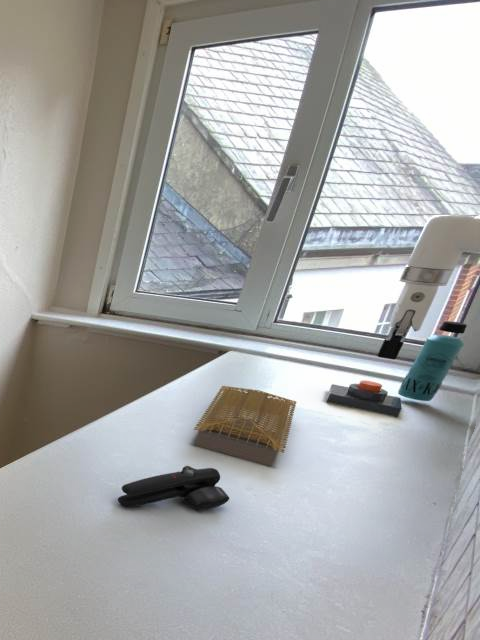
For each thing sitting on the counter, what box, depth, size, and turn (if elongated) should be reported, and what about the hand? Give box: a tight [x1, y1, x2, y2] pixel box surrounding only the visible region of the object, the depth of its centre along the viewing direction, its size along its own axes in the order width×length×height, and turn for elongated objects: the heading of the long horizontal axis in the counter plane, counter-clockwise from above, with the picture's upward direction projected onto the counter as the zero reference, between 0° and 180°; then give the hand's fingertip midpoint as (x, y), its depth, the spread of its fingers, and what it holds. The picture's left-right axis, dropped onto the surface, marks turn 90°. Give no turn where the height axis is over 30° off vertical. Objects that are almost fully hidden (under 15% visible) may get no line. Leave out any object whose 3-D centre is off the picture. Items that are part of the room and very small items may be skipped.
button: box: [358, 380, 383, 392], centre depth 131 cm, size 4×4×2 cm
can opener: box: [117, 465, 230, 511], centre depth 86 cm, size 18×7×6 cm, turn 100°
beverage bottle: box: [397, 320, 468, 402], centre depth 131 cm, size 6×7×20 cm
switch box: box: [325, 383, 403, 418], centre depth 132 cm, size 13×10×4 cm
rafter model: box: [193, 385, 297, 467], centre depth 114 cm, size 35×14×6 cm, turn 140°
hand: (386, 357), depth 128 cm, fingers closed
